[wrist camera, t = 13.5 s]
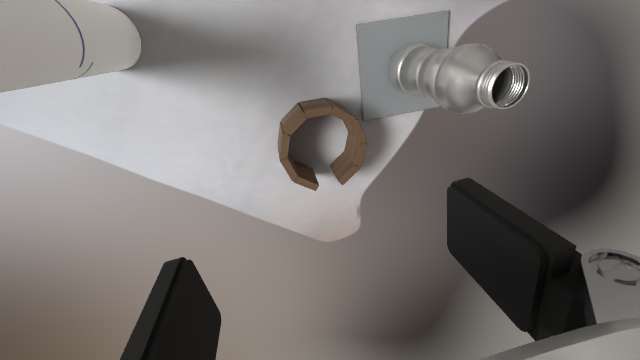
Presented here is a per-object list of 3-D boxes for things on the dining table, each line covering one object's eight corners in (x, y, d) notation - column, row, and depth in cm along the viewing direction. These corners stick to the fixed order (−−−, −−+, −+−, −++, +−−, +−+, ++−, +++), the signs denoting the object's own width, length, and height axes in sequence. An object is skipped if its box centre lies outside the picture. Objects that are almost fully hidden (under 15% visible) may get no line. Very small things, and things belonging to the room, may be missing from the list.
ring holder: (269, 107, 41) (270, 117, 35) (351, 92, 42) (364, 100, 37) (284, 179, 46) (287, 196, 40) (357, 164, 47) (369, 179, 42)
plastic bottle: (430, 44, 40) (560, 45, 23) (418, 93, 43) (527, 128, 25) (387, 39, 39) (490, 35, 21) (378, 90, 42) (463, 125, 24)
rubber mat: (356, 24, 38) (357, 24, 38) (446, 10, 39) (448, 10, 39) (362, 119, 44) (363, 120, 43) (441, 105, 45) (443, 105, 45)
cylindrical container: (148, 24, 34) (-68, -14, 12) (133, 80, 36) (-71, 138, 14) (78, -10, 32) (-355, -137, 9) (67, 53, 34) (-305, 70, 12)
